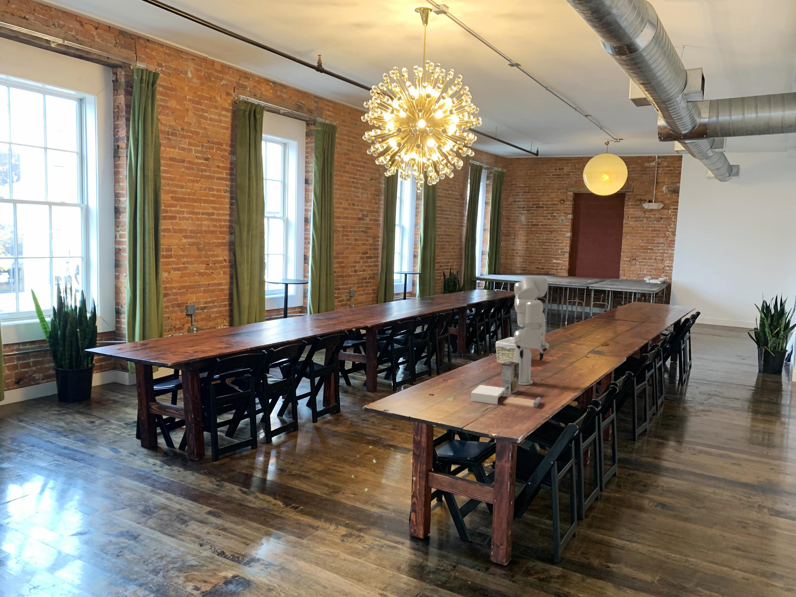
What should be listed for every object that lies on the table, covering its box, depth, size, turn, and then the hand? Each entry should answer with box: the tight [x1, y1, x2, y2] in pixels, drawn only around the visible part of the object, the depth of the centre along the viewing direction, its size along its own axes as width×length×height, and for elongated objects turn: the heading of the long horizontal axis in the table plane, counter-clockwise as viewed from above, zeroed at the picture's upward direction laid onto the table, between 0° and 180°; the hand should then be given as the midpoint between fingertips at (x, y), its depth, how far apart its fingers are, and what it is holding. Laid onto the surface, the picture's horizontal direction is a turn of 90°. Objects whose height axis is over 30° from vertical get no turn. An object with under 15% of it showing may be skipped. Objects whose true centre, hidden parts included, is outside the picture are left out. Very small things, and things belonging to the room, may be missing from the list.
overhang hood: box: [470, 384, 506, 405], centre depth 309 cm, size 17×14×4 cm
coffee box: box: [500, 361, 519, 395], centre depth 322 cm, size 9×6×16 cm
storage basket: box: [495, 336, 530, 364], centre depth 399 cm, size 24×16×15 cm
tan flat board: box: [502, 396, 542, 409], centre depth 301 cm, size 11×17×3 cm, turn 66°
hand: (531, 359), depth 296 cm, fingers open, 9 cm apart
